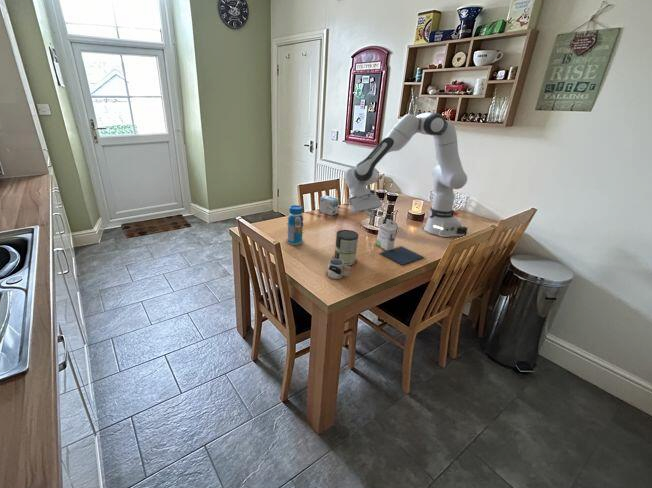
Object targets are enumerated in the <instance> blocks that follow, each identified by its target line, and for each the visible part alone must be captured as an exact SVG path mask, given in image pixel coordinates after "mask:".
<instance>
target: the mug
mask: <svg viewBox="0 0 652 488" xmlns="http://www.w3.org/2000/svg"><path fill="white" fill-rule="evenodd" d="M344 269H348V272H344ZM351 274H352V267H351V266H350V265H345V264H344V261H343V260H341V259H334V258H331V259H329V260H328V269H327V276H328V277H329V278H330V279H333V280H340V279H342V278H344V277H350V276H351Z"/></svg>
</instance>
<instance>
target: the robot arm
mask: <svg viewBox="0 0 652 488" xmlns="http://www.w3.org/2000/svg"><path fill="white" fill-rule="evenodd" d="M417 133H419V134H422V135H429V136H432V137H433V141H434V142H433V143H434V151H435V159H436V161H437V162H438V164H436V165H435V166H434V167H433V169H432V171H431V175H432V179H433V196H432V203H431V206H430V209H429V212H428V218H427V221H426V223H425V225H424V227H423V230H424V231H425V232H426V233H429V234H432V235H436V236H437V237H442V238H449V237H464V236H465V235H466V234H467V232H468V229H469V228H468V227H467V226H463V225H462V223H461V221H460V220H458V218H457V217H455V216H458V214H459V213H458V212H457V211H456V210H454V209H453V207H454V202H455V198H456V196H455V193H454V190H460V189H462V188H463V187H465V185H466V184H467V182H468V175H467V174H466V172H465V170H464V167H463V165H462V161H461V159H460V158H461V157H460V154H459V143H458V136H457V130H456V127H455V123H454V122H453V121H452V120H448V119H447V120H446V118H445V117H444V115H442V114H441V113H437V112H433V111H432V112H431V111H428V112H425V111H424V112H418V113H417V114H415V115H414V114H412V113H407V114H405V115H403V117H401V118H400V119H399V120H398V121H397V122H396V123H395V124H394V126H393V127H392V128H391V129H390V131H389V132H388V133H387V134H386V136H385V137H384V138H383V139H382V140H381V141H380V142H379V143H378V144H377V145H376V146H375V147H374V148H373V150H372V151H371V152H370V153H369V154H368V155H367V156H366V158H364V159H363V160H361V161H360V162H358V163H357V164H355V166H354V167H351V168H348V169H347V170H346V171H345V172H344V181H345V184H346V186H347V189H349V191H350V194H351V196H350V197H348V198H347V202H348V206H349V208H350V212H351V213H352V214H354V215H355V214H359V213H363V214H365V215H366V216H367V218H368V219H371V218H374V217H375V214H374V210H377V209H379V208H381V207H382V201H381V199H380V198H379V196H378V194H377V191H376V190H374V189H370V188H367V186H370V185H372V184H375V183H377V181H378V180H379V178H380V173H379V170H378V169H377V168H376V166H377V165H378V164H379V163H380V162H381V161H382V160H383V158H384V157H385V156H386V155H387V154H389V153H391V152H399V151H401V150H402V149H403V148H404V147H406V145H408V143H409V142H410V140H411V139H412V138H413V137H414V136H415V135H416V134H417Z"/></svg>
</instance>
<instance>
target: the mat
mask: <svg viewBox="0 0 652 488" xmlns="http://www.w3.org/2000/svg"><path fill="white" fill-rule="evenodd" d="M379 255H381V256H383V257H385V258H387V259H389V260H391V261H393V262H395V263H397V264H399V265H400V266H405V265H408V264H411V263H414V262H416V261H419V260H422V259H424V256H422V255H420V254H418V253H416V252H414V251H412V250H410V249H408V248H406V247H403V246H399V247H395V248H393V249H392V250H388V251H386V250H385V251H383V252H380V254H379Z"/></svg>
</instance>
